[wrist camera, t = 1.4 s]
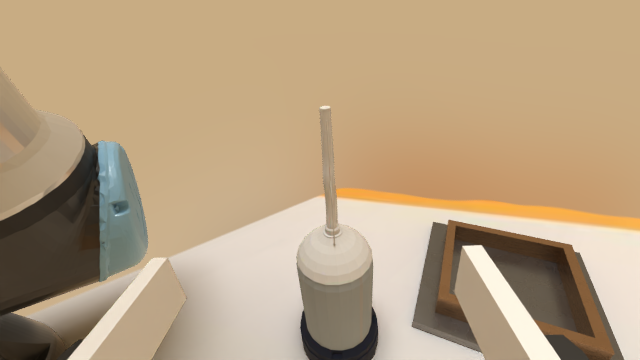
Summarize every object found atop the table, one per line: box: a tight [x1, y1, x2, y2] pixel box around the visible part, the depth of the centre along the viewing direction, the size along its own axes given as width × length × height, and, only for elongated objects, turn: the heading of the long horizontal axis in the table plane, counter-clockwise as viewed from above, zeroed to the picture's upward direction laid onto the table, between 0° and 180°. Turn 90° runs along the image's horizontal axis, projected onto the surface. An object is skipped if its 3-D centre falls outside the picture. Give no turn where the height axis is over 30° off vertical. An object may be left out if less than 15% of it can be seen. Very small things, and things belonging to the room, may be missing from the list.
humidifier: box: [296, 106, 378, 360], centre depth 24 cm, size 8×8×25 cm
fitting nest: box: [412, 220, 624, 360], centre depth 32 cm, size 18×18×4 cm
